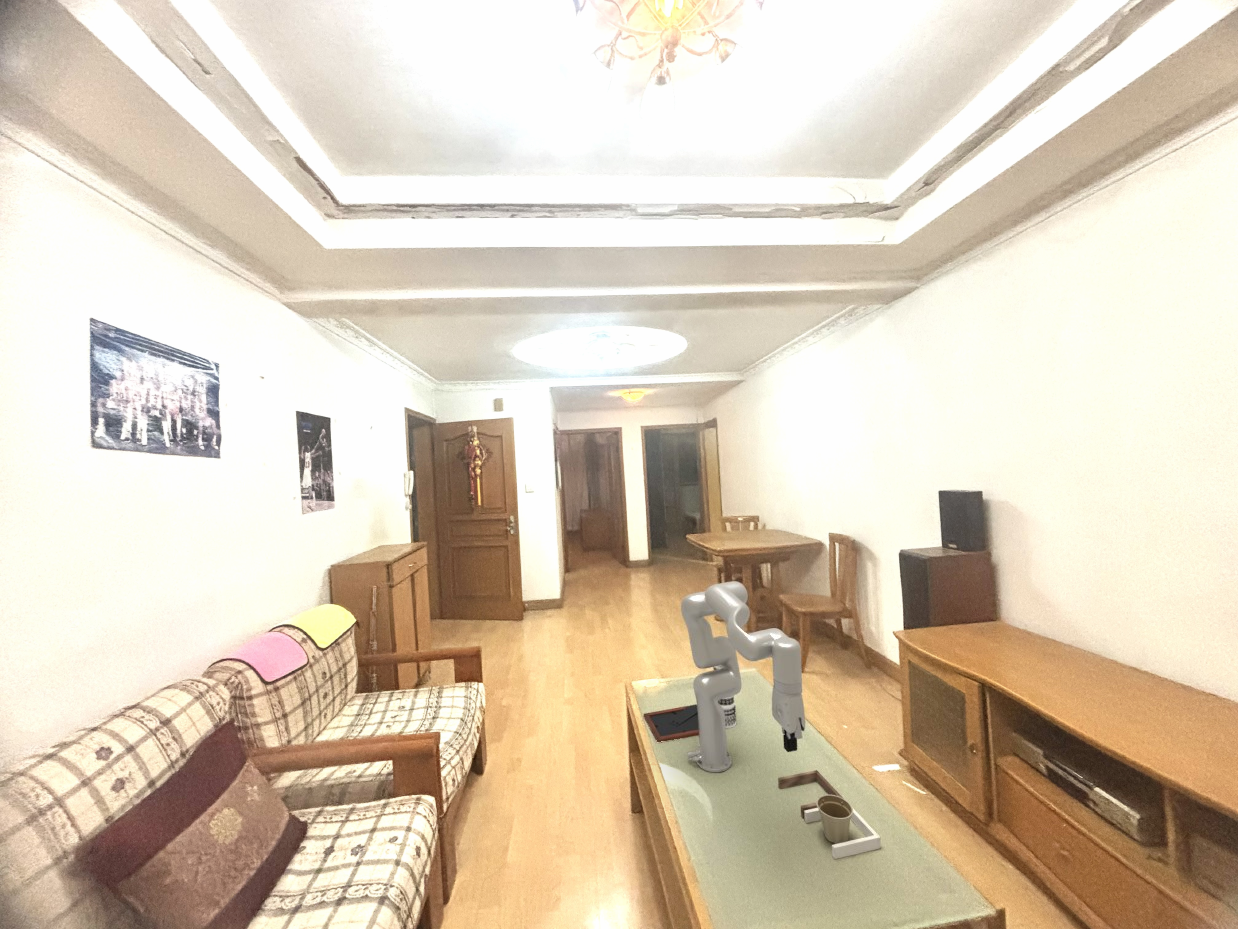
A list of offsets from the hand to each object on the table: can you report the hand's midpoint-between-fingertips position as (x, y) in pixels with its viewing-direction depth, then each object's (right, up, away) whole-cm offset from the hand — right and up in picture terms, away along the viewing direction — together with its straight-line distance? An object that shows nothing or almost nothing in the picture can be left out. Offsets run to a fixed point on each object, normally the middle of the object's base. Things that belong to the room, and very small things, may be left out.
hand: (790, 749), depth 133 cm
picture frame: (-23, -28, +63) cm, 73 cm away
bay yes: (+15, -26, +3) cm, 30 cm away
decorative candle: (-4, -26, +62) cm, 67 cm away
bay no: (+13, -26, +18) cm, 33 cm away
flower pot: (+13, -26, +2) cm, 29 cm away
